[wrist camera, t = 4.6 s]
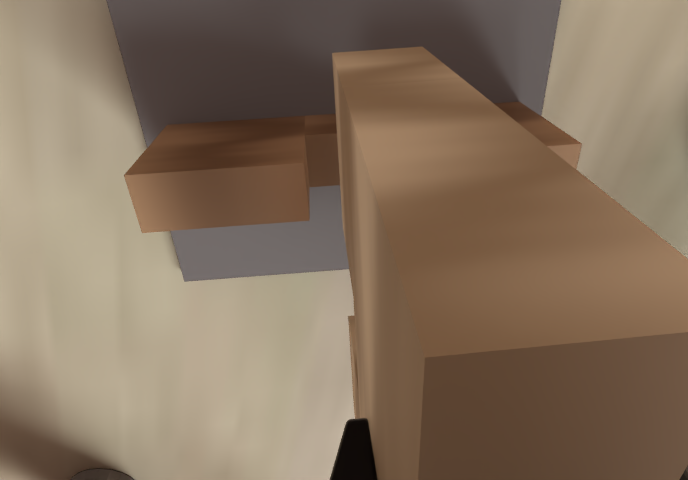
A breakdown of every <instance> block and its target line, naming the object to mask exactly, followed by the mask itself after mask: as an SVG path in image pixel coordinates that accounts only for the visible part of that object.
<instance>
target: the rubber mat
mask: <svg viewBox="0 0 688 480" xmlns="http://www.w3.org/2000/svg"><path fill="white" fill-rule="evenodd" d="M106 1H107V4H108V8H109V11H110V15H111V19H112V22H113V26H114V29H115V33H116V37H117V40H118V44H119V47H120V51H121V55H122V58H123V62H124V65H125V69H126V73H127V76H128V80H129V83H130V87H131V91H132V94H133V98H134V101H135V105H136V109H137V112H138V116H139V119H140V123H141V127H142V130H143V134H144V137H145V141H146V145H147V148H148V147H149V146H150V144H151V143H152V142H153V141H154V140H155V139H156V137H157V136H158V135H159V134H160V133H161V132H162V130H163V129H164V128H165V127H166V126H167V125H172V124H187V123H202V122H218V121H233V120H248V119H263V118H278V117H293V116H309V115H324V114H336V109H335V93H334V77H333V61H332V53H338V52H352V51H366V50H380V49H395V48H409V47H424V48H425V49H426V50H427V51H429V52H430V53H431V54H432V55H434V56H435V57H436V58H437V59H439V60H440V61H441V62H442V63H444V64H445V65H446V66H447V67H449V68H450V69H451V70H452V71H454V72H455V73H456V74H457V75H459V76H460V77H461V78H462V79H464V80H465V81H466V82H467V83H469V84H470V85H471V86H472V87H474V88H475V89H476V90H477V91H479V92H480V93H481V94H482V95H484V96H485V97H486V98H487V99H489V100H490V101H491V102H492V103H506V102H521V103H522V104H524V105H525V106H527V107H528V108H530V109H531V110H533V111H534V112H536V113H537V114H539V115H540V116H541V115H542V109H543V103H544V97H545V91H546V86H547V80H548V74H549V68H550V62H551V57H552V51H553V45H554V39H555V33H556V28H557V22H558V16H559V10H560V5H561V0H106ZM309 204H310V221H298V222H284V223H271V224H257V225H243V226H229V227H216V228H202V229H188V230H174V231H171V235H172V238H173V242H174V246H175V249H176V253H177V256H178V260H179V264H180V267H181V271H182V274H183V278H184V282H185V281H198V280H211V279H225V278H238V277H251V276H264V275H277V274H290V273H303V272H317V271H330V270H343V269H349V264H348V257H347V251H346V244H345V237H344V231H343V222H342V206H341V190H340V185H335V186H321V187H309Z"/></svg>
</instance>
